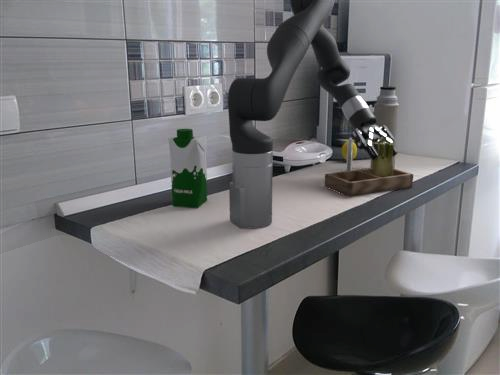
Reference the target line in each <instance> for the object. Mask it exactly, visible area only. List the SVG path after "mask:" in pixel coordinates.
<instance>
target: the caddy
mask: <svg viewBox="0 0 500 375" xmlns="http://www.w3.org/2000/svg"><path fill="white" fill-rule="evenodd" d="M413 180H414V174H413V173H411V172H410V173H409V172H407V171H403V170H399V169H397V168H394V169H393V176H390V177H378V176H375V175H373V171H372V168H370V167H369V168H362V169H353V170H352V171H345V172H341V171H337V172H331V173H325V174H324V188H326V187H327V188H326V189H328V188H330V189H329V190H331V189H332V190H331V191H333V190H335V191H334V192H336V191H337V192H336V193H338V192H340V193H339V194H341V193H342V194H341V195H343V194H344V195H343V196H345V197H348V196H349V197H348V198H351V197H352V196H353V197H357V196H358V197H359V196H365V195H370V194H371V195H372V194H377V193H378V194H379V193H384V192H390V191H398V190H402V189H403V190H404V189H410V188H413V182H414V181H413Z"/></svg>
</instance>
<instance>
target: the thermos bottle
mask: <svg viewBox="0 0 500 375" xmlns="http://www.w3.org/2000/svg"><path fill="white" fill-rule="evenodd" d="M398 100H399V99H398V96H396V87H395V86H390V85H389V86H388V85H387V86H386V85H385V86H379V95H378V96H376V102H375V103H374V105H373V114H374V116H375V117H376V119H377V121H376V125H377V126H378V127H382V126H383V125H385V126H386V127H387V128H388V130H389V131H390V132H391V134H392V135H393V137H394V138H395V141H394V142H392V144H393V145H394V147H395V149H396V150H397V142H398V141H397V139H398V126H399V113H400V112H399V111H400V104H399V103H398ZM381 138H382V136H381ZM381 138H380V139H381ZM388 138H389V139H390V137H389V136H388ZM384 142H386V141H385V140H384ZM374 143H377V142H372V146H373V147H374ZM378 147H380V144H379V143H378ZM384 152H385V146H384ZM384 152H383V156H384ZM392 161H393V169H396V168H395V163H396V155H395V156H394V157H392ZM372 163H373V160H372V158H371V157H370V166H369V168H372Z"/></svg>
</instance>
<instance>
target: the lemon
mask: <svg viewBox="0 0 500 375" xmlns="http://www.w3.org/2000/svg"><path fill="white" fill-rule="evenodd" d="M348 142H349V140H346V141H345V142H344V143H343V145H342V147H341V155H342V158H343V159H344V160H345V161H347V148H348ZM352 145H353V146H352V147H353V148H352V149H353V150H352V151H353V152H352V156H353V157H352V160H354V159H355V158H357V157H356V156H357V154H358V146H357V144H356V143H355V141H352Z"/></svg>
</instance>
